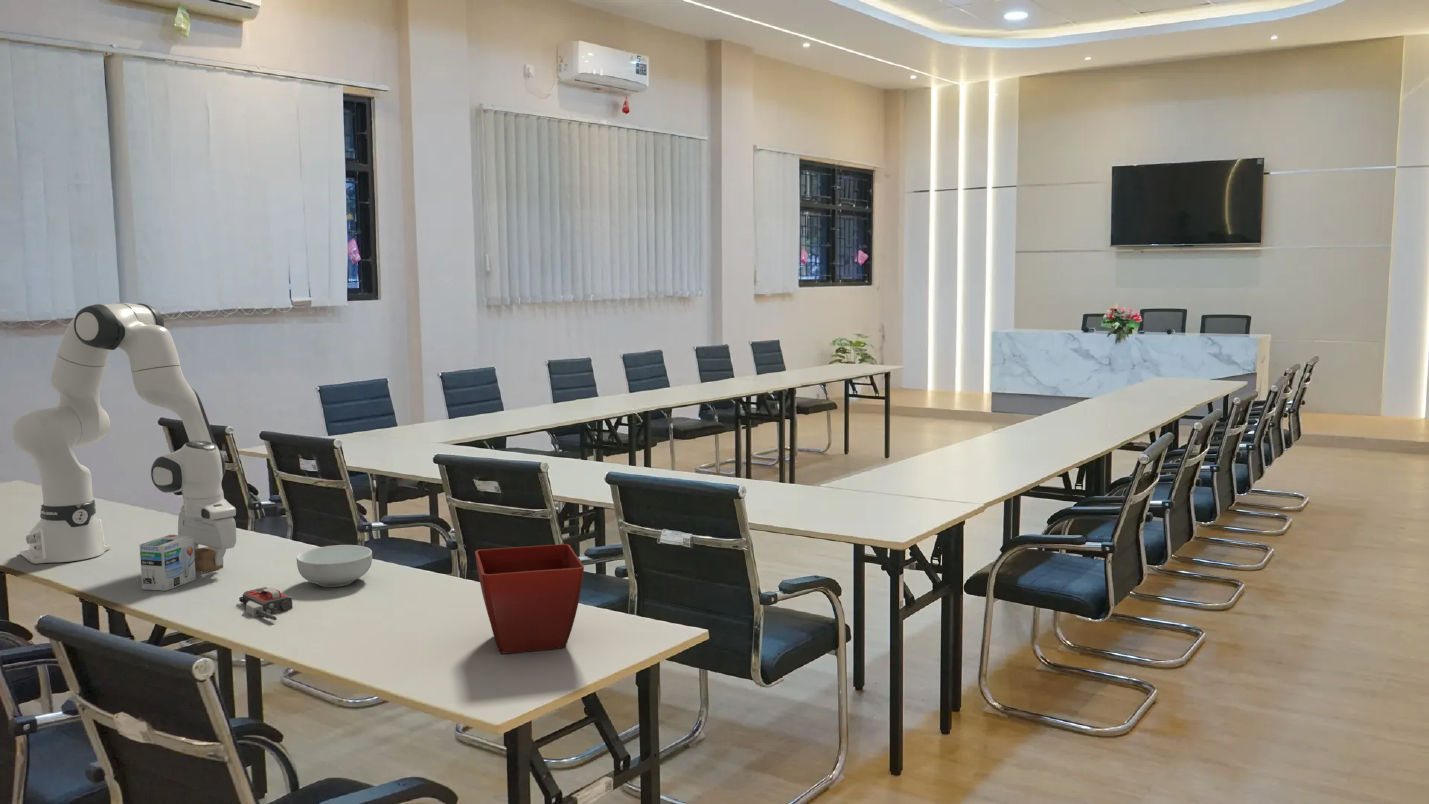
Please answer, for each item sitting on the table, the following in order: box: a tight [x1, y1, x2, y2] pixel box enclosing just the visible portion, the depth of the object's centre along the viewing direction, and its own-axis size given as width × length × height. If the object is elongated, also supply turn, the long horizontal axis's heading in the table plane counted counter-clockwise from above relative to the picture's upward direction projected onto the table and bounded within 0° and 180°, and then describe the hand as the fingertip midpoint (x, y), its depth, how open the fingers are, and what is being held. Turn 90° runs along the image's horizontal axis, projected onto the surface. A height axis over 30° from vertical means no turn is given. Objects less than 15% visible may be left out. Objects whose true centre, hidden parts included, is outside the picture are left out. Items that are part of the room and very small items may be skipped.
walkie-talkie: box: [238, 586, 294, 621], centre depth 234 cm, size 9×4×20 cm
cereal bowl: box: [296, 544, 373, 588], centre depth 256 cm, size 17×17×7 cm
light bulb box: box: [139, 534, 197, 592], centre depth 254 cm, size 11×7×11 cm, turn 168°
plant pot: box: [474, 543, 585, 654], centre depth 213 cm, size 19×19×17 cm
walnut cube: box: [194, 546, 224, 573], centre depth 269 cm, size 5×5×5 cm
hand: (207, 562), depth 269 cm, fingers open, 8 cm apart
